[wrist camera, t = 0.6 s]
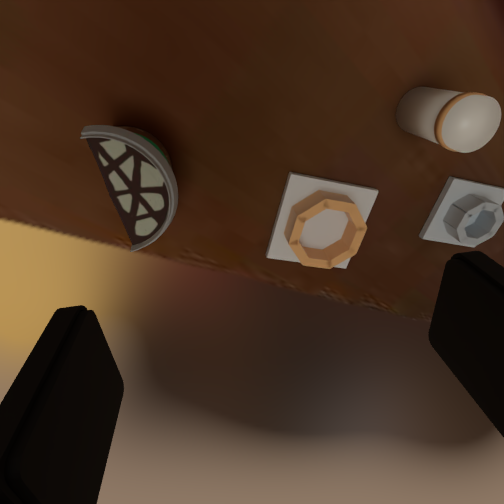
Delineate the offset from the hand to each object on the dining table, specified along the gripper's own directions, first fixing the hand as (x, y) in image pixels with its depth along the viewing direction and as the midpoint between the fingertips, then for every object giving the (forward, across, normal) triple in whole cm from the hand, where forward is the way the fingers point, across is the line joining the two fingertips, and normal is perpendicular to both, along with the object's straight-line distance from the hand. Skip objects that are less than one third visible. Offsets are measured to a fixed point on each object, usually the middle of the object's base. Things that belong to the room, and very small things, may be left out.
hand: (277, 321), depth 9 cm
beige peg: (+33, -23, +1) cm, 40 cm away
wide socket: (+33, -11, +14) cm, 38 cm away
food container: (+34, +8, +4) cm, 35 cm away
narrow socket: (+34, -32, +16) cm, 49 cm away
